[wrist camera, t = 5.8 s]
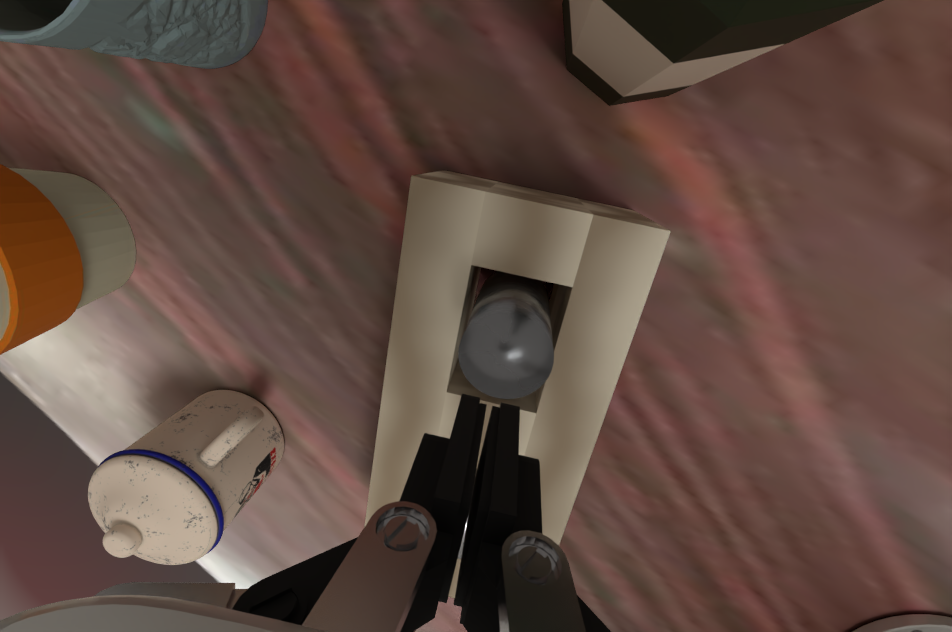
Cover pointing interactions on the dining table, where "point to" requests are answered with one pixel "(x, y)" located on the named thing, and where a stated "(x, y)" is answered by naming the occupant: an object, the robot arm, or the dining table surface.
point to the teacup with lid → (185, 478)
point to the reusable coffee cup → (56, 250)
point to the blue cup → (140, 28)
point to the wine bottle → (681, 39)
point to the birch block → (571, 313)
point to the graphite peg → (508, 337)
